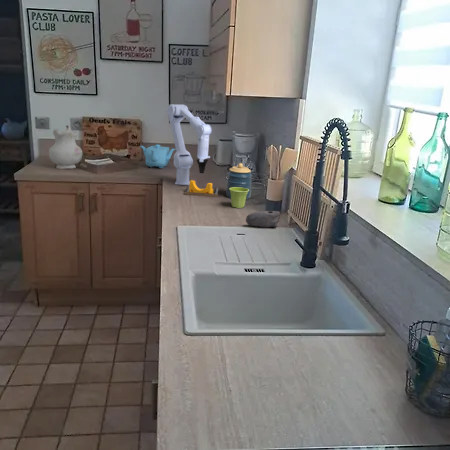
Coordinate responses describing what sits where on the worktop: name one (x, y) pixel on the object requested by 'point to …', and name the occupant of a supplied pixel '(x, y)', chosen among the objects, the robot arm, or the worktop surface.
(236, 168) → the canister
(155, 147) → the teakettle
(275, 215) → the perforated stone tool
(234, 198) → the plant pot
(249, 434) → the worktop surface
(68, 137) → the ceramic pitcher
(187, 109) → the robot arm
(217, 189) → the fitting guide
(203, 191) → the pipe clamp
